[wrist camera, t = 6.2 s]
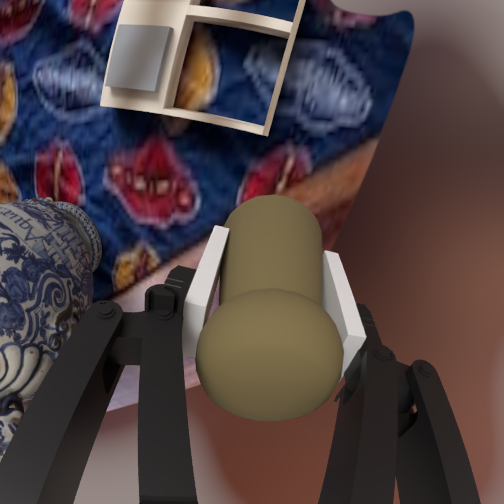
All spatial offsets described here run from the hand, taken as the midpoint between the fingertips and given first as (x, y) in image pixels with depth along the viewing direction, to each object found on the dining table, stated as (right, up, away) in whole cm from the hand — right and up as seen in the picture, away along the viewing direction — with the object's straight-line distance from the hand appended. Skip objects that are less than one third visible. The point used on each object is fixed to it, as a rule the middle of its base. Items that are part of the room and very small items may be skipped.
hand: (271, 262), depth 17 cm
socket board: (-5, +22, +6) cm, 24 cm away
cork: (0, +1, +2) cm, 2 cm away
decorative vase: (-24, +2, +18) cm, 31 cm away
